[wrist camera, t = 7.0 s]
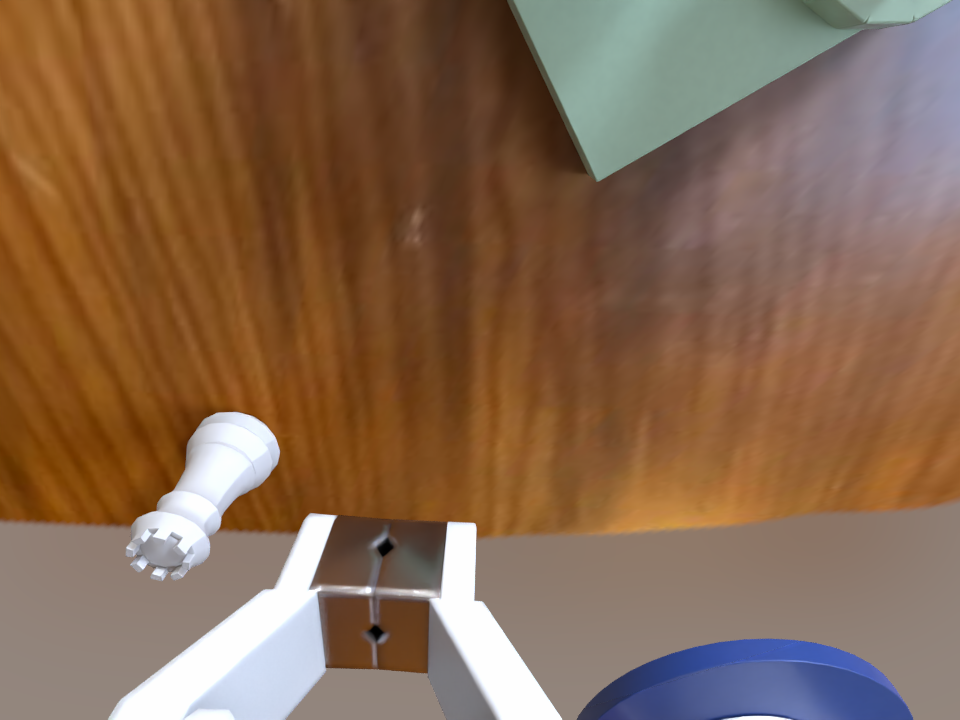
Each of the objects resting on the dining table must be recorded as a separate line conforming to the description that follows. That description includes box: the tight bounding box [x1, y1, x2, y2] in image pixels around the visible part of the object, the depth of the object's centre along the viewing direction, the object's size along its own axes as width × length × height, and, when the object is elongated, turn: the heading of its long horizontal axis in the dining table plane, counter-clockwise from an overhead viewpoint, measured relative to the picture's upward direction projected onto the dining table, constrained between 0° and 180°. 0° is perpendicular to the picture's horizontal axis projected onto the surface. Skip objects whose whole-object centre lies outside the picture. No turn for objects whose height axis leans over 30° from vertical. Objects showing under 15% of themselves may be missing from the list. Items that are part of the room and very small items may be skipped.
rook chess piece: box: [126, 412, 280, 581], centre depth 25 cm, size 4×4×8 cm
